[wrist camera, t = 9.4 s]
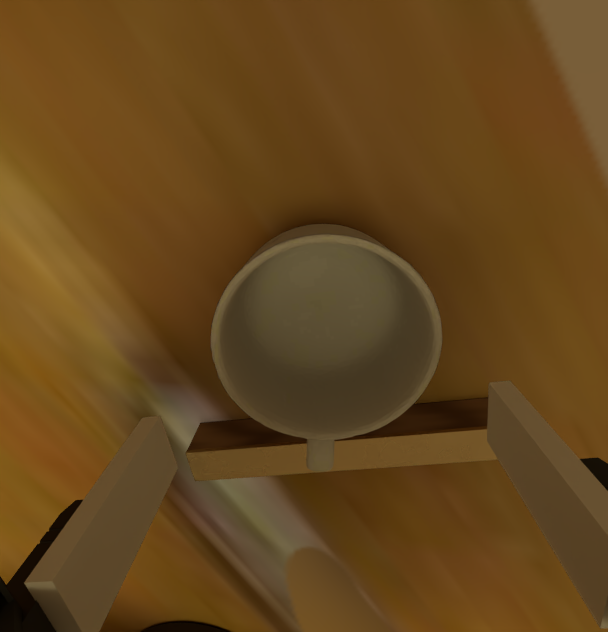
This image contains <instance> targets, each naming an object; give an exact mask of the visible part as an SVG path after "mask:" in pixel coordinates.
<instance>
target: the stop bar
mask: <svg viewBox="0 0 608 632" xmlns="http://www.w3.org/2000/svg"><path fill="white" fill-rule="evenodd" d="M487 423H488V398H481V399H469V400H458V401H447V402H435V403H424V404H413V405H412V406H411V407H410V408H409V409H407V410H406V411H405V412H404V413H403V414H402V415H400V416H399V417H398V418H396V419H394V420H393V421H391V422H390V423H388V424H387V425H385V426H383V427H381V428H379V429H376V430H374V431H371V432H368V433H365V434H361V435H356V436H353V437H349V438H344V439H338V440H334V463H333V467H332V469H331V470H329V471H324V472H331V471H345V470H359V469H373V468H387V467H401V466H415V465H430V464H444V463H458V462H472V461H486V460H498V458H497V457H496V455H495V454H494V452H493V450H492V449H491V447H490V445H489V444H488V442H487ZM186 456H187V459H188V462H189V465H190V468H191V471H192V474H193V477H194V480H195V481H204V480H218V479H232V478H246V477H260V476H274V475H288V474H302V473H317V472H315V471H312V470H310V469H308V468H307V465H306V456H307V439H305V438H301V437H296V436H292V435H288V434H284V433H281V432H278V431H275V430H273V429H271V428H268V427H266V426H264V425H263V424H261V423H260V422H258V421H256V420H254V419H243V420H231V421H220V422H209V423H200V425H199V427H198V429H197V431H196V433H195V435H194V437H193V440H192V442H191V444H190V446H189V448H188V450H187V451H186Z"/></svg>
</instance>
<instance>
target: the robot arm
mask: <svg viewBox="0 0 608 632" xmlns="http://www.w3.org/2000/svg"><path fill="white" fill-rule="evenodd" d="M487 442H488V444H489V445H490V447H491V449H492V450H493V452H494V454H495V455H496V457H497V458H498V460H499V462H500V463H501V465H502V467H503V468H504V470H505V472H506V473H507V475H508V477H509V478H510V480H511V482H512V483H513V485H514V487H515V488H516V490H517V492H518V493H519V495H520V496H521V498H522V500H523V501H524V503H525V505H526V506H527V508H528V510H529V511H530V513H531V515H532V516H533V518H534V520H535V521H536V523H537V525H538V526H539V528H540V530H541V531H542V533H543V535H544V536H545V538H546V539H547V541H548V543H549V544H550V546H551V548H552V549H553V551H554V553H555V554H556V556H557V558H558V559H559V561H560V563H561V564H562V566H563V568H564V569H565V571H566V573H567V574H568V576H569V578H570V579H571V581H572V582H573V584H574V586H575V587H576V589H577V591H578V592H579V594H580V596H581V597H582V599H583V601H584V602H585V604H586V606H587V607H588V609H589V611H590V612H591V614H592V616H593V617H594V619H595V620H596V622H597V624H598V625H599V627H600V628H608V464H607V463H606V462H604V461H603V460H601V459H599V458H587V459H579V458H578V457H577V456H576V455H575V454H574V452H573V451H572V450H571V449H570V448H569V447H568V446H567V445H566V443H565V442H564V441H563V440H562V439H561V438H560V437H559V436H558V434H557V433H556V432H555V431H554V430H553V429H552V428H551V426H550V425H549V424H548V423H547V422H546V421H545V420H544V419H543V417H542V416H541V415H540V414H539V413H538V412H537V411H536V410H535V408H534V407H533V406H532V405H531V404H530V403H529V402H528V400H527V399H526V398H525V397H524V396H523V395H522V394H521V393H520V391H519V390H518V389H517V388H516V387H515V386H514V385H513V384H512V382H511V381H501V382H491V383H489V395H488V423H487ZM177 469H178V466H177V463H176V460H175V457H174V454H173V451H172V448H171V446H170V443H169V440H168V437H167V434H166V431H165V428H164V425H163V423H162V420H161V417H160V416H153V417H143V418H142V419H141V420H140V422H139V423H138V425H137V426H136V427H135V429H134V430H133V432H132V433H131V434H130V436H129V437H128V439H127V440H126V441H125V443H124V444H123V446H122V447H121V448H120V450H119V451H118V453H117V454H116V455H115V457H114V458H113V459H112V461H111V462H110V464H109V465H108V466H107V468H106V469H105V471H104V472H103V473H102V475H101V476H100V478H99V479H98V480H97V482H96V483H95V485H94V486H93V487H92V489H91V490H90V492H89V493H88V494H87V496H86V497H85V499H84V500H76V501H75V502H73V503H72V504H71V505H70V506H69V507H68V508H67V509H65V510H64V511H63V512H62V513H61V514H60V515H59V516H58V518H57V519H56V520H55V522H54V523H53V524H52V526H51V527H50V528H49V532H46V534H45V535H44V536H43V538H42V539H41V540H40V544H37V546H36V547H35V548H34V550H33V551H32V552H31V553H30V555H29V556H28V557H27V559H26V560H25V561H24V563H23V564H22V565H21V567H20V568H19V569H18V571H17V572H16V573H15V575H14V576H13V577H12V579H11V580H10V581H9V583H8V584H7V585H6V584H5V583H4V581H3V580H2V578H1V577H0V632H99V631H100V629H101V627H102V625H103V623H104V621H105V619H106V617H107V615H108V613H109V611H110V608H111V606H112V604H113V602H114V600H115V598H116V596H117V594H118V592H119V590H120V588H121V586H122V583H123V581H124V579H125V577H126V575H127V573H128V571H129V569H130V567H131V565H132V563H133V561H134V558H135V556H136V554H137V552H138V550H139V548H140V546H141V544H142V542H143V540H144V538H145V535H146V533H147V531H148V529H149V527H150V525H151V523H152V521H153V519H154V517H155V515H156V513H157V510H158V508H159V506H160V504H161V502H162V500H163V498H164V496H165V494H166V492H167V490H168V487H169V485H170V483H171V481H172V479H173V477H174V475H175V473H176V471H177ZM143 632H225V631H223V630H220V629H217V628H214V627H210V626H206V625H201V624H194V623H167V624H162V625H157V626H154V627H151V628H149V629H147V630H145V631H143Z"/></svg>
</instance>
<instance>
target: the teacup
mask: <svg viewBox="0 0 608 632" xmlns="http://www.w3.org/2000/svg"><path fill="white" fill-rule="evenodd" d="M211 327H212V332H211V351H212V358H213V361H214V363H215V368H216V370H217V373H218V377H219V379H220V380H221V383H222V385H223V386H224V388H225V390H226V392H227V393H228V395H229V396H230V397H231V398H232V400H233V401H234V402H235V403H236V404H237V405H238V406H239V407H240V408H241V409H242V410H243V411H244V412H245V413H247V414H248V415H249V416H250V417H252V418H253V419H254V420H256V421H258V422H260V423H261V424H263V425H264V426H266V427H268V428H271V429H273V430H275V431H278V432H281V433H284V434H288V435H292V436H296V437H301V438H305V439H307V456H306V465H307V468H308V469H310V470H312V471H315V472H324V471H329V470H331V469H332V467H333V463H334V440H338V439H344V438H349V437H353V436H356V435H361V434H365V433H368V432H371V431H374V430H376V429H379V428H381V427H383V426H385V425H387V424H388V423H390V422H391V421H393V420H394V419H396V418H398V417H399V416H400V415H402V414H403V413H404V412H405V411H406V410H407V409H409V408H410V407H411V406H412V405H413V404H414V403H415V402H416V401H417V399H418V398H419V397H420V396H421V394H422V393H423V392H424V390H425V389H426V387H427V385H428V383H429V382H430V380H431V378H432V376H433V375H434V373H435V370H436V367H437V364H438V361H439V358H440V353H441V347H442V327H441V319H440V314H439V310H438V307H437V305H436V302H435V299H434V296H433V294H432V293H431V291H430V289H429V287H428V286H427V284H426V283H425V281H424V280H423V279H422V277H421V276H420V274H419V273H418V272H417V271H416V270H415V269H414V268H413V267H412V266H411V265H410V264H409V263H407V262H406V261H405V260H404V259H402V258H401V257H400V256H398V255H397V254H395V253H394V252H392V251H390V250H389V249H388V248H386V247H385V246H384V245H382V244H381V243H379V242H378V241H377V240H375V239H374V238H372V237H370V236H368V235H367V234H365V233H363V232H360V231H358V230H355V229H352V228H349V227H345V226H342V225H335V224H312V225H305V226H301V227H297V228H294V229H291V230H288V231H286V232H284V233H281V234H279V235H278V236H276V237H274V238H273V239H271V240H270V241H268V242H267V243H265V244H264V245H263V246H262V247H261V248H260V249H259V250H258V251H257V252H256V253H255V254H254V255H253V256H252V257H251V258H250V259H249V260H248V261H247V263H246V264H245V265H244V266H243V267H242V268H241V269H240V270H239V271H238V272H237V274H236V275H235V276H234V277H233V278H232V280H231V281H230V282H229V284H228V285H227V287H226V289H225V290H224V292H223V294H222V296H221V298H220V300H219V302H218V304H217V308H216V311H215V314H214V318H213V322H212V325H211Z"/></svg>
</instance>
